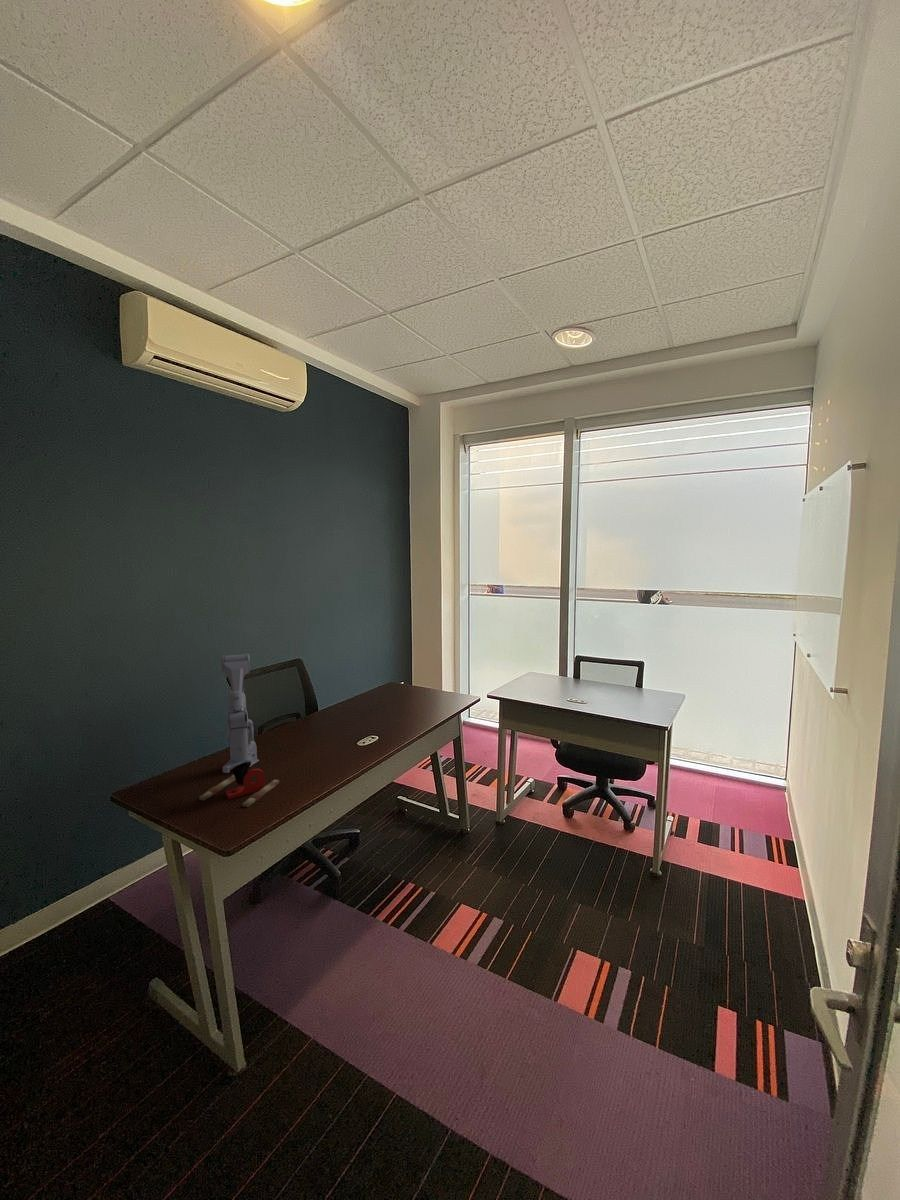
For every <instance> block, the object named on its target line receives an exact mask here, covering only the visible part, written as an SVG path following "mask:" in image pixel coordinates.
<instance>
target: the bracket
mask: <svg viewBox="0 0 900 1200" xmlns="http://www.w3.org/2000/svg"><path fill="white" fill-rule="evenodd" d="M254 776H256V777H257V780H256V781H255V782H252V781H251V780H252V778H253V777H254ZM265 786H266V775H265V772H264V771H263V770H261V769H260V768H252V769H250V770H248V772H247V773H246V775H245V776H244V784H243V785H242V786H239V787H235V788H231V789H229V790H227V791H225V794H226V797H227V799H228V800H230V799H231V800H232V799H234V798H238V797H241V796H242V797H243V796H245V795H249V794H254V793H256V792H258V791H260V790H261V789H262V788H264V787H265Z"/></svg>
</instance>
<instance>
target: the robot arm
mask: <svg viewBox="0 0 900 1200" xmlns="http://www.w3.org/2000/svg"><path fill="white" fill-rule="evenodd" d="M220 658H221V659H220V661H221V662H220V666H221V672H222V675H223V676H224V677H229V681H230V690H231V692H230V694H229V695H228V697H227V706H228V707H227V708H228V709H227V712H228V714H227V715H226V726H225V744H226V745H227V746H229V754H230V756H229V757H230V759H229V760H228V761H227V763H225V764H224V765H223V766H222V773H224V774H229V773H230V771H231V773H232V775H234V776H235V778H236V780H235V782H236V783H237V785H241V786H244V776H245V775H246V773H247V772H248V771H249V769H250V767H253V766H254V765H255V764H256V763H258V762H259V761H260V759H258V751H257V749H258V747H257V744H256V742H255V737H254V736H255V735H254V732H255V731H254V721H253V720H252V719H250V718H249V713H248V709H247V699H246V694H245V691H244V678H245V676H246V675H249V674H250V672H251V661H250V660H251V659H250V658H251V657H250V654H249V653H243V654H242V653H241V654H231V655H222V656H221V657H220Z"/></svg>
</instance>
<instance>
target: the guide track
mask: <svg viewBox="0 0 900 1200" xmlns="http://www.w3.org/2000/svg"><path fill="white" fill-rule="evenodd" d="M234 781H236V778H235V776H234V774H232V775H231V776H229V777H228V778H226V779H225V780H223V781H221V782H220V783H218V784H217V785H215V786H212V787H210V788H209V789H207V791H206V792H204V793H203V794H201V795H199V796H198V799H199V801H206V800H207V799H208V798H210V797H212V796H213V795H215V794H217V793H218V792H220V791H221V790H223V789H224V788H225V787H227V786H228V785H230V784H232V783H233V782H234ZM278 784H280V779H273V780H272V781H271V782H269V783H268V784H265V787H264V788H262V789H261V790H260V791H257V792H253V793H252V794H251V795H250V796H249V798H247V799H246V800H245V801H244V802H243V803H241V804H242V807H243V808H249V807H250V806H251V805H253V804H254V803H255V802H257V801H258V800H260V798H262V797H263V796H264V795H266V794H267V793H268V792H269V791H271V790H272V789H273V788H275V787H276V786H277V785H278Z"/></svg>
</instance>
